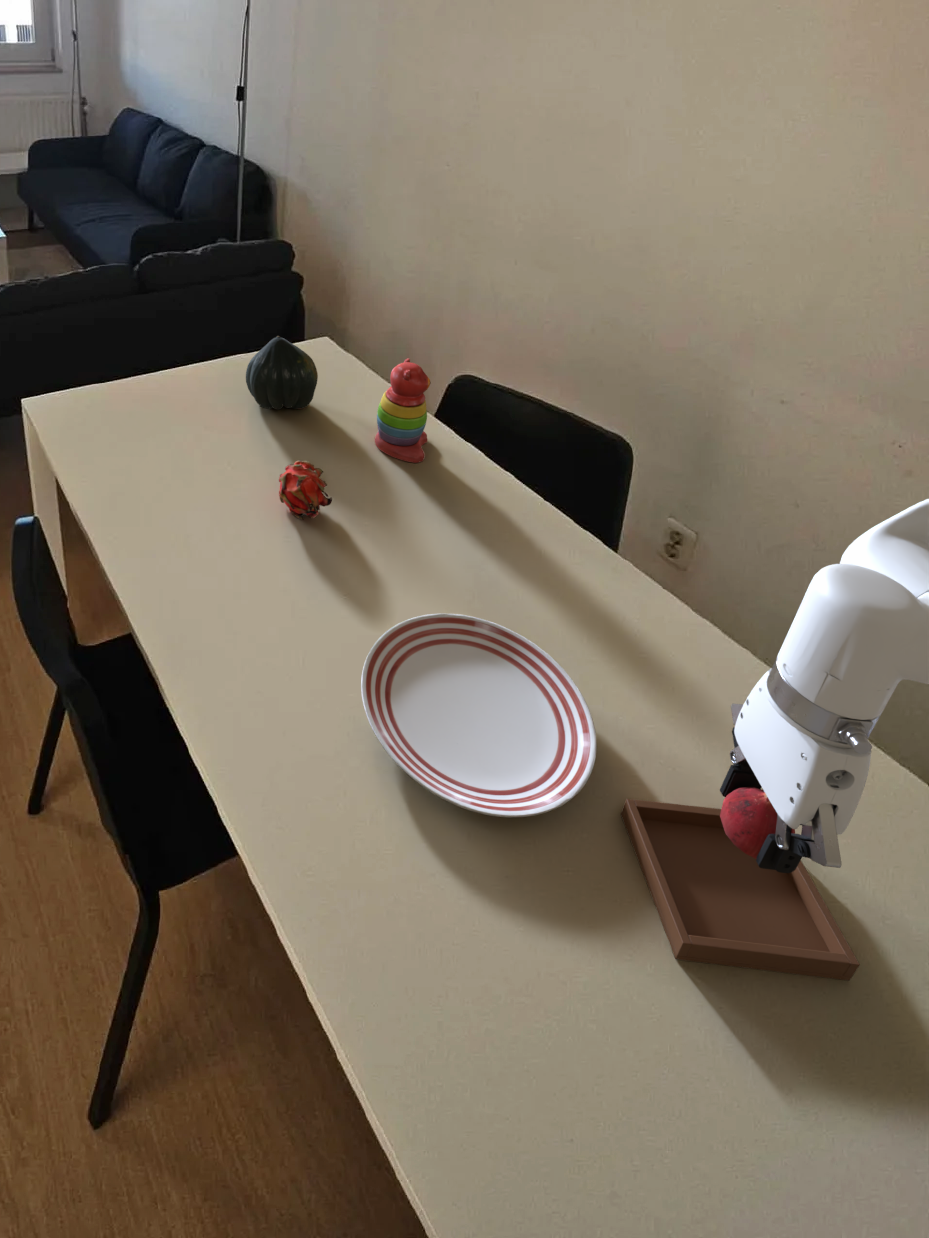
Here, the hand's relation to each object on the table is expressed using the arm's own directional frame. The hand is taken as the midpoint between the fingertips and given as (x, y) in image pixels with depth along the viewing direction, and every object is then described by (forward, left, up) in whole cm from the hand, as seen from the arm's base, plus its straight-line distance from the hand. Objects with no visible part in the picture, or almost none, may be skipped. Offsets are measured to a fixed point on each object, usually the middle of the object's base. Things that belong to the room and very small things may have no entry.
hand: (755, 828), depth 73 cm
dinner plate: (+22, -17, -10) cm, 30 cm away
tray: (0, 0, -10) cm, 10 cm away
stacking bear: (+24, -77, -10) cm, 81 cm away
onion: (0, 0, -3) cm, 3 cm away
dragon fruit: (+43, -55, -10) cm, 71 cm away
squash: (+48, -90, -10) cm, 102 cm away
